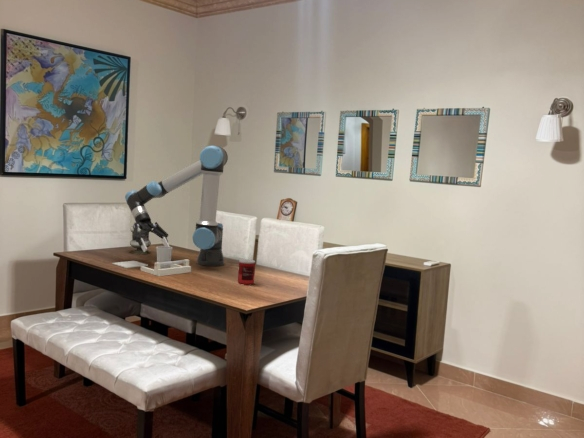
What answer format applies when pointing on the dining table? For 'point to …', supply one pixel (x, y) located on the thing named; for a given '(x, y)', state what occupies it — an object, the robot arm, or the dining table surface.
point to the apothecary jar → (136, 245)
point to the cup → (164, 255)
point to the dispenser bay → (169, 271)
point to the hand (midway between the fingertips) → (156, 249)
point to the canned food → (246, 271)
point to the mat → (130, 264)
